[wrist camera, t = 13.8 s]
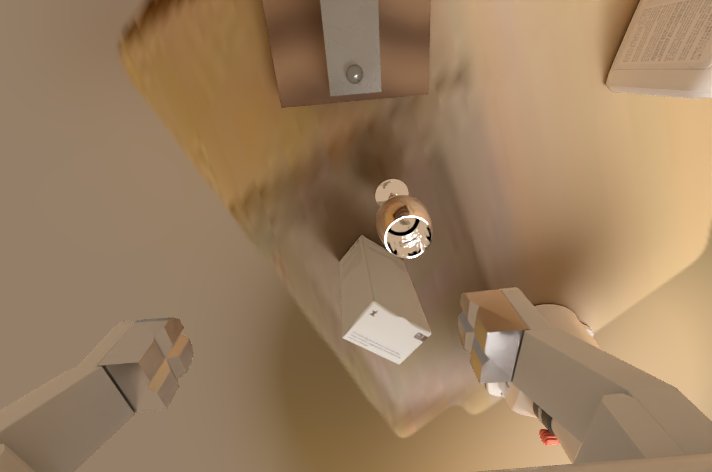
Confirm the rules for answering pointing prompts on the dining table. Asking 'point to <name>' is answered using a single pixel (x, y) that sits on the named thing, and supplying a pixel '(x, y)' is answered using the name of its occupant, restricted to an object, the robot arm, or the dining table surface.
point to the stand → (308, 56)
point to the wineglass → (402, 220)
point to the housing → (352, 46)
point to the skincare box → (380, 302)
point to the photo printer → (666, 51)
